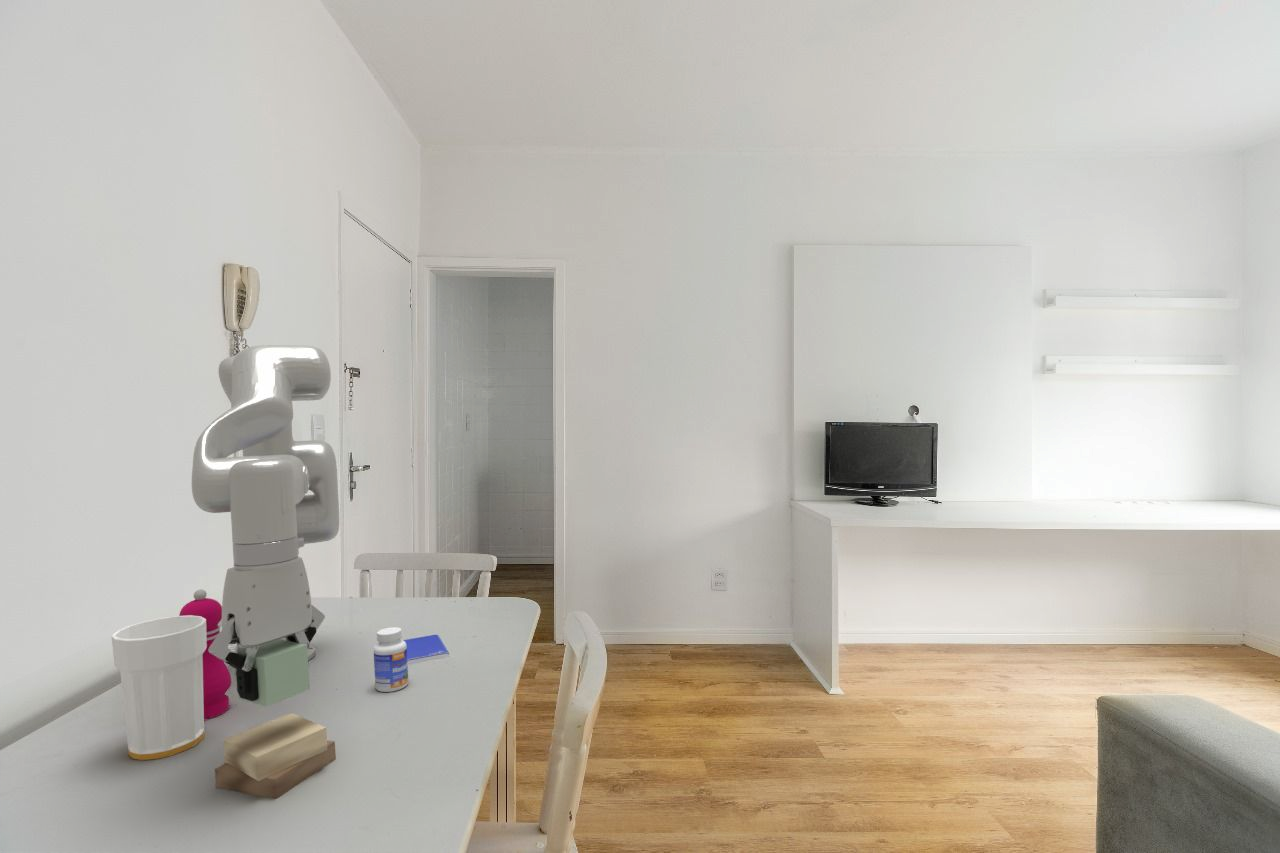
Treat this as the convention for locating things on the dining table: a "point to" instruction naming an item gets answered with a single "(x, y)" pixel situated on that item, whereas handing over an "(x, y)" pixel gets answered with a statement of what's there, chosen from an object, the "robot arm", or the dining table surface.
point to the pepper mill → (211, 655)
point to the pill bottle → (390, 660)
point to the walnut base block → (273, 776)
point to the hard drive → (425, 649)
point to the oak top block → (274, 745)
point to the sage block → (280, 671)
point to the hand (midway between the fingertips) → (273, 687)
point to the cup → (162, 684)
